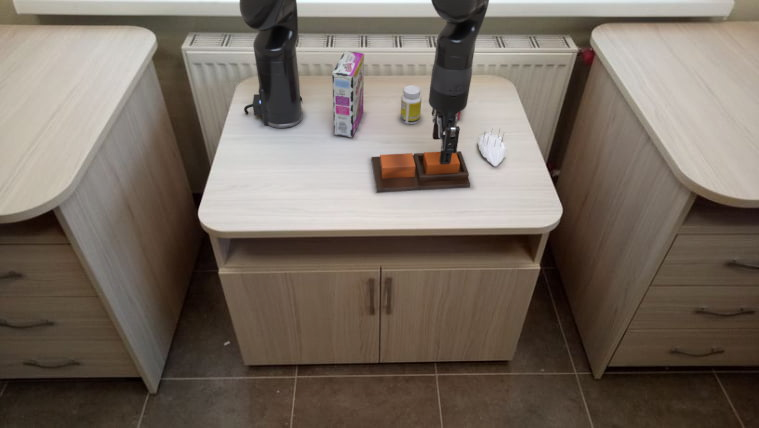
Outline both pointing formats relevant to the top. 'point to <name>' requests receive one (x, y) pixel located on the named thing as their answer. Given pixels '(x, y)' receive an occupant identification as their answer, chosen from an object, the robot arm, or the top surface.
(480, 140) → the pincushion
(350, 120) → the candy bar box
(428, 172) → the loose pad
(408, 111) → the supplement bottle
